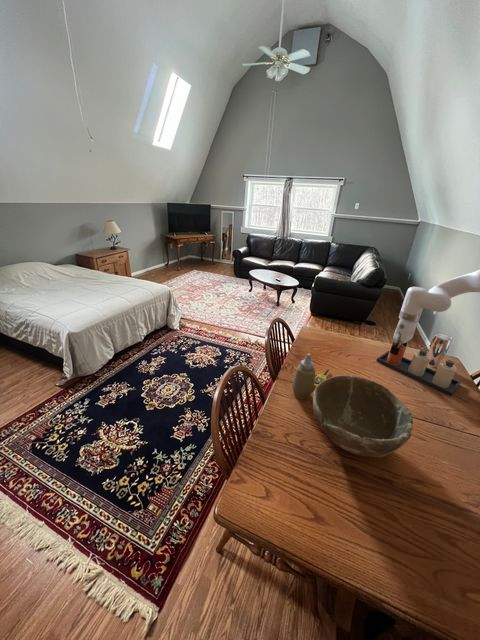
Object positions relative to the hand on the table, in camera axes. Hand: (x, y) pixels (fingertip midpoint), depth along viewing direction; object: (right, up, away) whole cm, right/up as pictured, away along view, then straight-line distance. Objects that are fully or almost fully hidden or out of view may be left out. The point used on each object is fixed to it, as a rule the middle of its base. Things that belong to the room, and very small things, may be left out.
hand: (397, 351), depth 122 cm
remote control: (-38, -11, -10) cm, 41 cm away
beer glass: (+18, -7, +3) cm, 19 cm away
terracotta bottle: (0, -5, +3) cm, 6 cm away
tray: (+6, -9, -4) cm, 12 cm away
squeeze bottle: (-48, -14, -19) cm, 54 cm away
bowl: (-37, -24, -38) cm, 58 cm away
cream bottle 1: (+6, -9, -4) cm, 11 cm away
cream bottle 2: (+12, -12, -11) cm, 20 cm away
